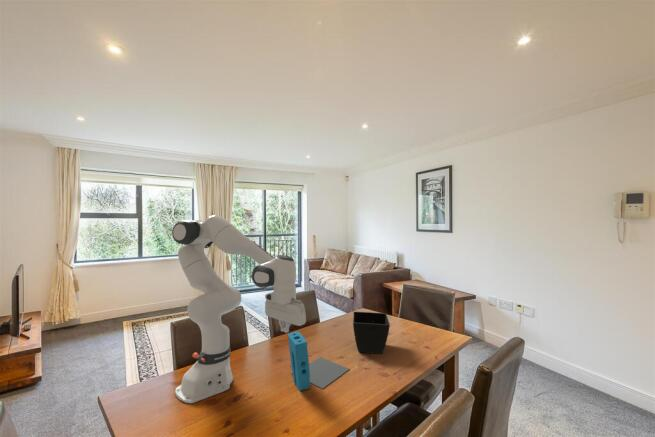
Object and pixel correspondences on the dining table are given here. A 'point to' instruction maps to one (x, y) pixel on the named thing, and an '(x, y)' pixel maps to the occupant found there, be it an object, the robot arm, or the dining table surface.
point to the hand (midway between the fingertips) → (284, 331)
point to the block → (299, 360)
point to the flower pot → (370, 331)
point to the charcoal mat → (325, 372)
